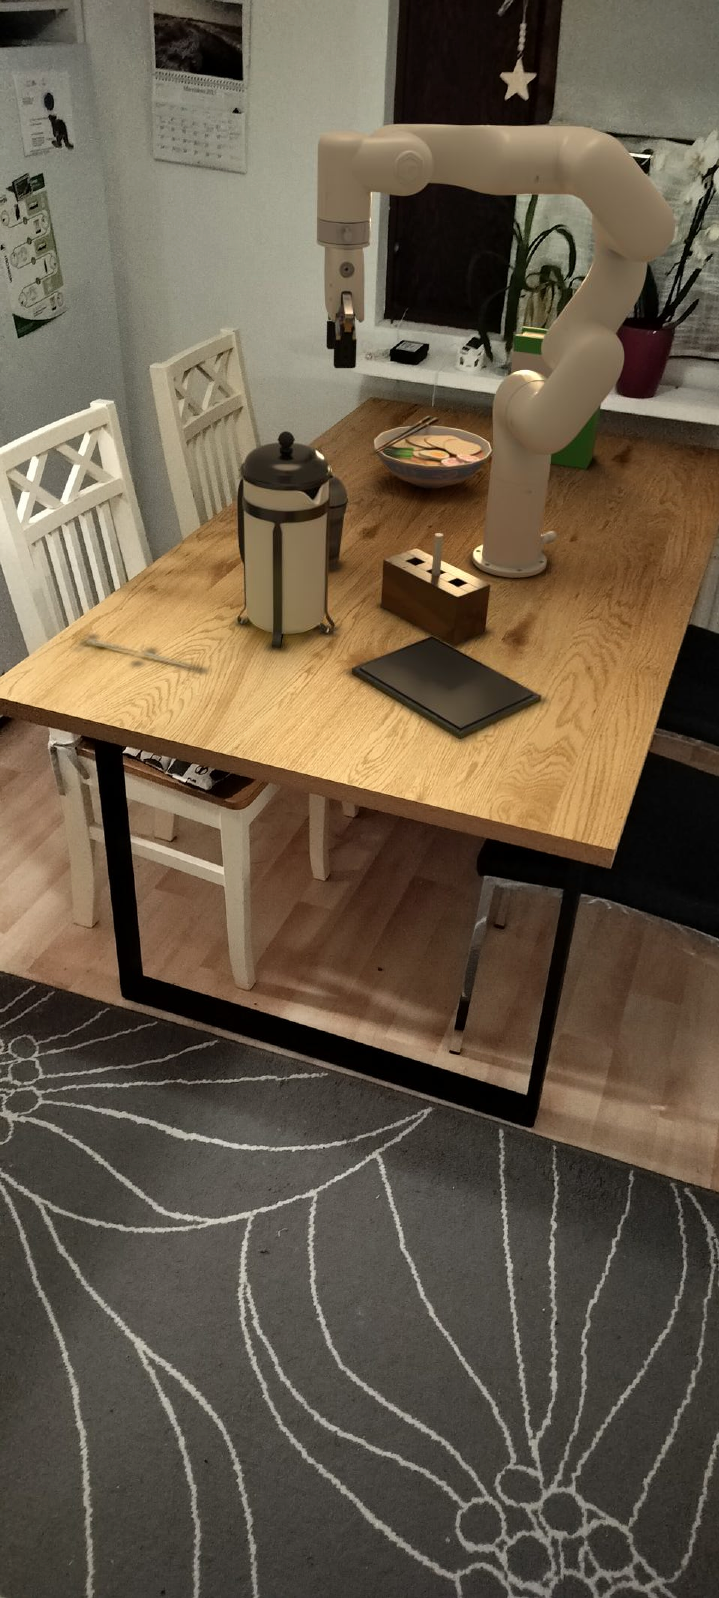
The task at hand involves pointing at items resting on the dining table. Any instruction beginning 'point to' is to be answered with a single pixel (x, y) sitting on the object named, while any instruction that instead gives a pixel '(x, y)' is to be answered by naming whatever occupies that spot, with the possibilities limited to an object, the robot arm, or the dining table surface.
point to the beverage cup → (336, 518)
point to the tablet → (446, 686)
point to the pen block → (435, 596)
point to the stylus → (99, 643)
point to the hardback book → (531, 359)
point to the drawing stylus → (437, 554)
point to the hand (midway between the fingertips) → (340, 357)
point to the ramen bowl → (431, 453)
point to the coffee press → (285, 537)
